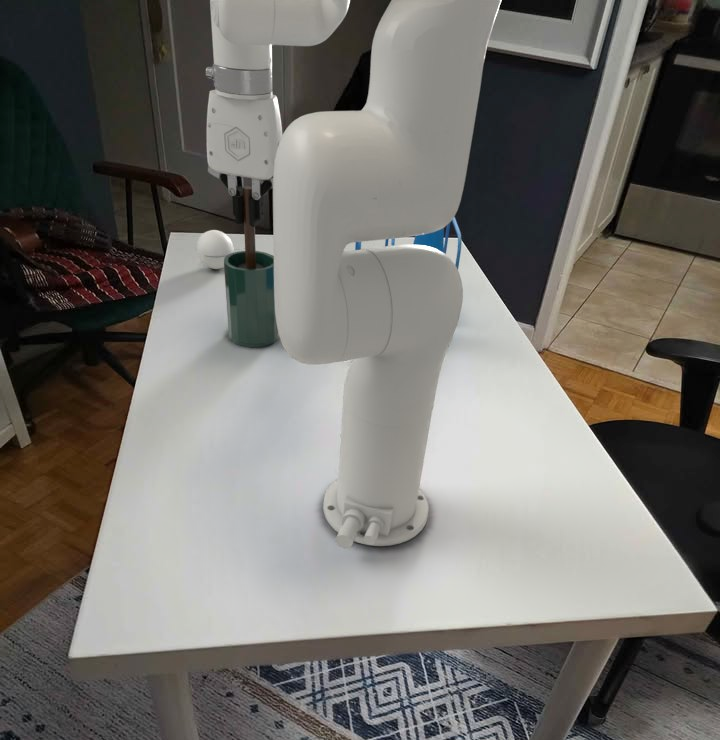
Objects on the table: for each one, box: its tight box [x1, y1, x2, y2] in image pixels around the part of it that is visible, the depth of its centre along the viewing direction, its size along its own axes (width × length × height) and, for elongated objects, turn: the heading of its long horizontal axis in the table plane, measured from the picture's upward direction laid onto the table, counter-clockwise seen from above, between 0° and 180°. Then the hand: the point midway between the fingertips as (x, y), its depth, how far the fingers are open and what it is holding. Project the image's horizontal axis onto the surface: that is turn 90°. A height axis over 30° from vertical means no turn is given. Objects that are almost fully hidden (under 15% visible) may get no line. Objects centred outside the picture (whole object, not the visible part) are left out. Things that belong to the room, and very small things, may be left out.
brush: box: [238, 185, 264, 269], centre depth 100 cm, size 4×4×18 cm
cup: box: [223, 250, 279, 348], centre depth 105 cm, size 8×8×13 cm
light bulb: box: [195, 229, 239, 270], centre depth 128 cm, size 10×7×7 cm
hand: (249, 222), depth 98 cm, fingers closed on brush
